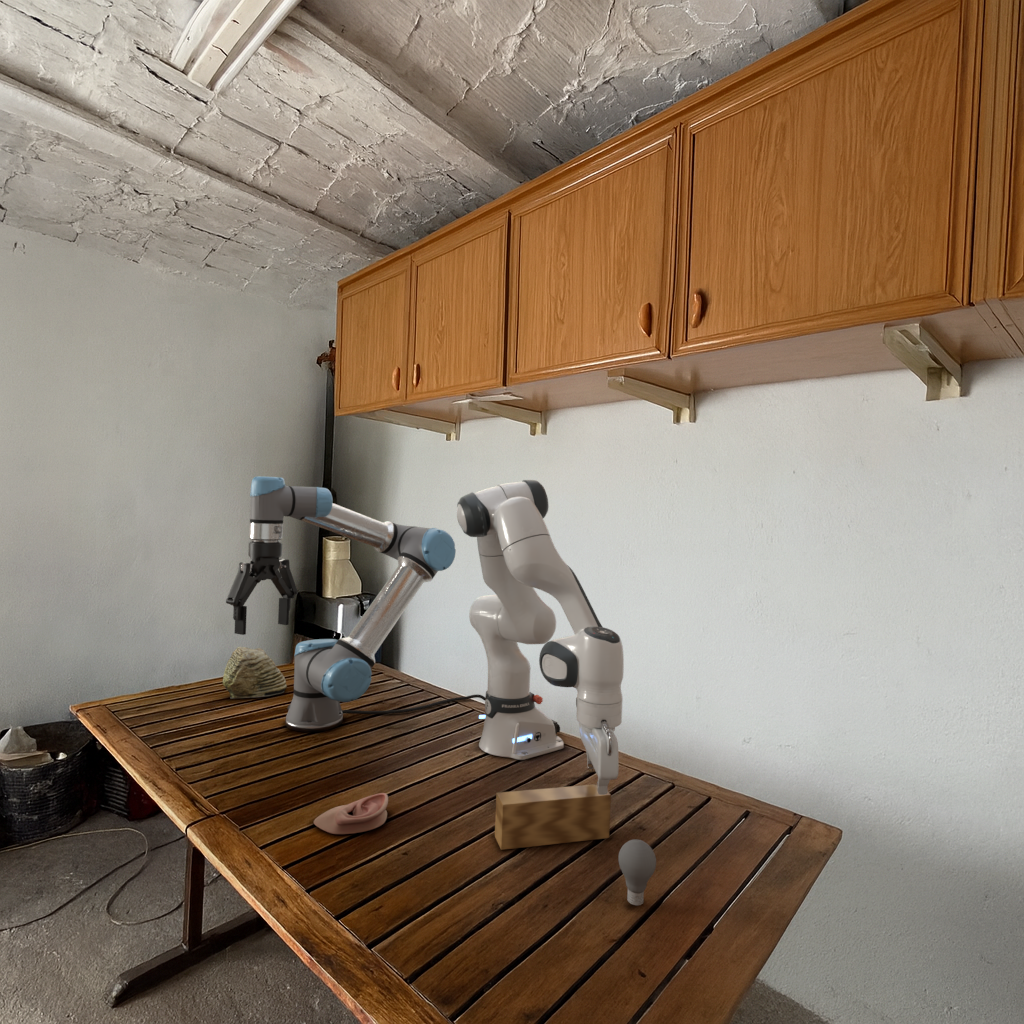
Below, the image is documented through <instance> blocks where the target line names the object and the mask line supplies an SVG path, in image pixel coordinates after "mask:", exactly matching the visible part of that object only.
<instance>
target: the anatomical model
mask: <svg viewBox="0 0 1024 1024" xmlns="http://www.w3.org/2000/svg"><path fill="white" fill-rule="evenodd" d="M388 805H389V795H388V793H386V792H379V793H375V794H371V795H369V796H366V797H363V798H360V799H358V800H355V801H352V802H350V803H347V804H344V805H343V804H342V805H339V806H335V807H333V808H330V809H328V810H326V811H325V812H322V813H321V814H320V815H318V816H317V817H316V818H315V819H314V820H313V824H314V825H315V826H316V827H317V828H319V829H320V830H322V831H324V832H327V833H328V834H333V835H349V834H357V833H363V832H368V831H372V830H375V829H377V828H379V827H381V826H382V825H384V824H385V823H386V821H387V818H388V812H387V811H388V810H386V809H387V808H388Z"/></svg>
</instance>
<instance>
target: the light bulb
mask: <svg viewBox="0 0 1024 1024" xmlns="http://www.w3.org/2000/svg"><path fill="white" fill-rule="evenodd" d="M618 865H619V868H620V871H621V872H622V874H623V876H624V880H625V885H626V888H627V897H626V899H627V902H628V903H629V904H630V905H633V906H641V905H643V904H644V898H645V897H644V896H645V891H646V889H647V886H648V885H647V884H648V882H649V880H650V879H651V877H652V876H653V875H654V874H655V871H656V867H657V858H656V853H655V852H654V850H653V848H652V847H651V846H650V845H649V844H648V843H647V842H646V841H644V840H641V839H634V838H633V839H630V840H627V841H626V842H625V843H623V845H622V846H621V848H620V850H619V852H618Z"/></svg>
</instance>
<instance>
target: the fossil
mask: <svg viewBox="0 0 1024 1024" xmlns="http://www.w3.org/2000/svg"><path fill="white" fill-rule="evenodd" d="M222 676H223V677H222V685H223V687H224V688H225V690H226V691H228V693H229V698H230V699H250V698H264V697H271V696H275V695H281V694H284V693H285V691H286V689H287V687H288V686H287V680H286V678H285V676H284V674H283V673H282V672H281V669H279V668H278V667H277V665H276V663H275V662H274V660H273V659H272V658H271V657H270V656H269V655H268V654H267V653H266V652H265V650H264V649H263V648H260V647H258V648H251V647H247V646H246V647H245V646H238V647H237V648H236V649H235V650H233V651H232V653H231V656H230V657H229V659H228V660H227V663H226V666H225V668H224V671H223V675H222Z"/></svg>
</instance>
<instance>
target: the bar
mask: <svg viewBox="0 0 1024 1024" xmlns="http://www.w3.org/2000/svg"><path fill="white" fill-rule="evenodd" d="M611 803H612V794H611V793H610V792H609V790H608V791H607V794H606V795H600V794H598V791H597V783H596V784H595V783H594V784H583V785H571V786H560V787H549V788H537V789H524V790H514V791H513V790H512V791H501V792H496V796H495V819H494V821H495V823H494V837H495V840H496V842H497V844H498V846H499V848H500V851H502V850H503V851H504V850H505V851H506V850H511V849H513V850H514V849H521V848H523V849H524V848H532V847H539V846H541V847H542V846H548V845H557V844H558V845H559V844H566V843H576V842H584V841H585V842H586V841H593V840H602V839H609V838H610V828H611V827H610V825H611V805H612V804H611Z"/></svg>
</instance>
